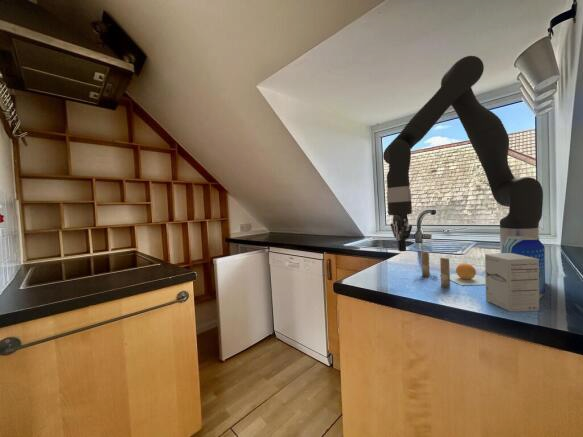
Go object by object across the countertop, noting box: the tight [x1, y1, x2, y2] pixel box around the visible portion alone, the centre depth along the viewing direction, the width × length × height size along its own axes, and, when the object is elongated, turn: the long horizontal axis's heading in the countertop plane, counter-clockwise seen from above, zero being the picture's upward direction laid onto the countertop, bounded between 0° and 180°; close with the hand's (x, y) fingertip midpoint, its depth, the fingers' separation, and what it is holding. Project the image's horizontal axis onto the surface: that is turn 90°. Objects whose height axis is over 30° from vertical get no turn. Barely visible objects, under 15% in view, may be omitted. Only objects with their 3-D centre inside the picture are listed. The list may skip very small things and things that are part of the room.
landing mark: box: [439, 273, 486, 287], centre depth 82 cm, size 12×12×1 cm
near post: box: [439, 257, 451, 289], centre depth 76 cm, size 2×2×9 cm
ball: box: [455, 262, 477, 280], centre depth 82 cm, size 6×6×6 cm
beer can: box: [502, 236, 546, 299], centre depth 67 cm, size 8×8×16 cm
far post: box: [420, 250, 431, 278], centre depth 89 cm, size 2×2×9 cm
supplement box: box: [484, 253, 540, 313], centre depth 60 cm, size 7×7×13 cm
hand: (402, 250), depth 83 cm, fingers closed
